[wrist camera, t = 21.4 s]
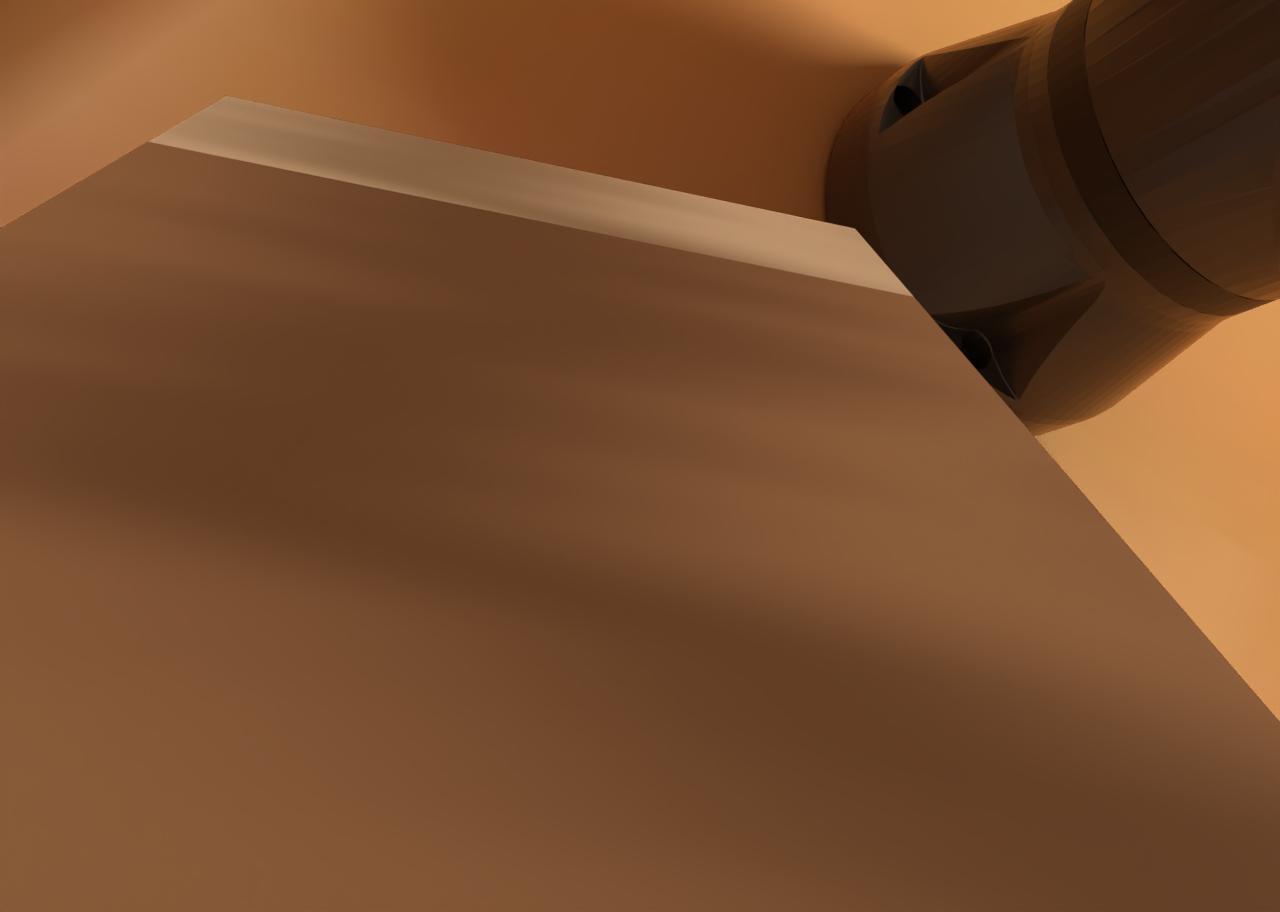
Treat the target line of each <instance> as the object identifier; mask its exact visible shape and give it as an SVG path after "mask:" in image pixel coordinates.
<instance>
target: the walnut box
mask: <svg viewBox="0 0 1280 912" xmlns="http://www.w3.org/2000/svg"><path fill="white" fill-rule="evenodd" d="M0 912H1280V722H1279V720H1278V719H1277V718H1276V717H1275V716H1274V715H1273V713H1272V712H1271V711H1270V710H1269V709H1268V708H1267V706H1266V705H1265V704H1264V703H1263V702H1262V701H1261V699H1260V698H1259V697H1258V696H1257V695H1256V694H1255V693H1254V691H1253V690H1252V689H1251V688H1250V687H1249V686H1248V684H1247V683H1246V682H1245V681H1244V680H1243V679H1242V677H1241V676H1240V675H1239V674H1238V673H1237V672H1236V670H1235V669H1234V668H1233V667H1232V666H1231V665H1230V663H1229V662H1228V661H1227V660H1226V659H1225V658H1224V657H1223V655H1222V654H1221V653H1220V652H1219V651H1218V650H1217V648H1216V647H1215V646H1214V645H1213V644H1212V643H1211V641H1210V640H1209V639H1208V638H1207V637H1206V636H1205V634H1204V633H1203V632H1202V631H1201V630H1200V629H1199V627H1198V626H1197V625H1196V624H1195V623H1194V622H1193V621H1192V619H1191V618H1190V617H1189V616H1188V615H1187V614H1186V612H1185V611H1184V610H1183V609H1182V608H1181V607H1180V605H1179V604H1178V603H1177V602H1176V601H1175V600H1174V598H1173V597H1172V596H1171V595H1170V594H1169V593H1168V591H1167V590H1166V589H1165V588H1164V587H1163V586H1162V585H1161V583H1160V582H1159V581H1158V580H1157V579H1156V578H1155V576H1154V575H1153V574H1152V573H1151V572H1150V571H1149V569H1148V568H1147V567H1146V566H1145V565H1144V564H1143V562H1142V561H1141V560H1140V559H1139V558H1138V557H1137V555H1136V554H1135V553H1134V552H1133V551H1132V550H1131V549H1130V547H1129V546H1128V545H1127V544H1126V543H1125V542H1124V540H1123V539H1122V538H1121V537H1120V536H1119V535H1118V533H1117V532H1116V531H1115V530H1114V529H1113V528H1112V526H1111V525H1110V524H1109V523H1108V522H1107V521H1106V519H1105V518H1104V517H1103V516H1102V515H1101V514H1100V513H1099V511H1098V510H1097V509H1096V508H1095V507H1094V506H1093V504H1092V503H1091V502H1090V501H1089V500H1088V499H1087V497H1086V496H1085V495H1084V494H1083V493H1082V492H1081V490H1080V489H1079V488H1078V487H1077V486H1076V485H1075V483H1074V482H1073V481H1072V480H1071V479H1070V478H1069V477H1068V475H1067V474H1066V473H1065V472H1064V471H1063V470H1062V468H1061V467H1060V466H1059V465H1058V464H1057V463H1056V461H1055V460H1054V459H1053V458H1052V457H1051V456H1050V454H1049V453H1048V452H1047V451H1046V450H1045V449H1044V447H1043V446H1042V445H1041V444H1040V443H1039V442H1038V441H1037V439H1036V438H1035V437H1034V436H1033V435H1032V434H1031V432H1030V431H1029V430H1028V429H1027V428H1026V427H1025V425H1024V424H1023V423H1022V422H1021V421H1020V420H1019V418H1018V417H1017V416H1016V415H1015V414H1014V413H1013V411H1012V410H1011V409H1010V408H1009V407H1008V406H1007V405H1006V403H1005V402H1004V401H1003V400H1002V399H1001V398H1000V396H999V395H998V394H997V393H996V392H995V391H994V389H993V388H992V387H991V386H990V385H989V384H988V382H987V381H986V380H985V379H984V378H983V377H982V375H981V374H980V373H979V372H978V371H977V370H976V369H975V367H974V366H973V365H972V364H971V363H970V362H969V360H968V359H967V358H966V357H965V356H964V355H963V353H962V352H961V351H960V350H959V349H958V348H957V346H956V345H955V344H954V343H953V342H952V341H951V339H950V338H949V337H948V336H947V335H946V334H945V333H944V331H943V330H942V329H941V328H940V327H939V326H938V324H937V323H936V322H935V321H934V320H933V319H932V317H931V316H930V315H929V314H928V313H927V312H926V310H925V309H924V308H923V307H922V306H921V305H920V303H919V302H918V301H917V300H916V299H915V298H914V297H913V295H912V294H911V293H910V292H909V291H908V290H907V288H906V287H905V286H904V285H903V284H902V283H901V281H900V280H899V279H898V278H897V277H896V276H895V274H894V273H893V272H892V271H891V270H890V269H889V267H888V266H887V265H886V264H885V263H884V262H883V261H882V259H881V258H880V257H879V256H878V255H877V254H876V252H875V251H874V250H873V249H872V248H871V247H870V245H869V244H868V243H867V242H866V241H865V240H864V238H863V237H862V236H861V235H860V234H859V233H858V231H857V230H856V229H855V228H850V227H845V226H840V225H836V224H831V223H826V222H821V221H817V220H812V219H807V218H803V217H798V216H793V215H788V214H784V213H779V212H774V211H769V210H765V209H760V208H755V207H750V206H746V205H741V204H736V203H732V202H727V201H722V200H717V199H713V198H708V197H703V196H698V195H694V194H689V193H684V192H680V191H675V190H670V189H665V188H661V187H656V186H651V185H646V184H642V183H637V182H632V181H627V180H623V179H618V178H613V177H609V176H604V175H599V174H594V173H590V172H585V171H580V170H575V169H571V168H566V167H561V166H557V165H552V164H547V163H542V162H538V161H533V160H528V159H523V158H519V157H514V156H509V155H504V154H500V153H495V152H490V151H486V150H481V149H476V148H471V147H467V146H462V145H457V144H452V143H448V142H443V141H438V140H433V139H429V138H424V137H419V136H415V135H410V134H405V133H400V132H396V131H391V130H386V129H381V128H377V127H372V126H367V125H363V124H358V123H353V122H348V121H344V120H339V119H334V118H329V117H325V116H320V115H315V114H310V113H306V112H301V111H296V110H292V109H287V108H282V107H277V106H273V105H268V104H263V103H258V102H254V101H249V100H244V99H239V98H235V97H230V96H225V97H223V98H221V99H219V100H218V101H216V102H214V103H213V104H211V105H209V106H208V107H206V108H204V109H202V110H201V111H199V112H197V113H196V114H194V115H192V116H191V117H189V118H187V119H186V120H184V121H182V122H180V123H179V124H177V125H175V126H174V127H172V128H170V129H169V130H167V131H165V132H163V133H162V134H160V135H158V136H157V137H155V138H153V139H152V140H150V141H148V142H147V143H145V144H143V145H141V146H140V147H138V148H136V149H135V150H133V151H131V152H130V153H128V154H126V155H124V156H123V157H121V158H119V159H118V160H116V161H114V162H113V163H111V164H109V165H108V166H106V167H104V168H102V169H101V170H99V171H97V172H96V173H94V174H92V175H91V176H89V177H87V178H85V179H84V180H82V181H80V182H79V183H77V184H75V185H74V186H72V187H70V188H69V189H67V190H65V191H63V192H62V193H60V194H58V195H57V196H55V197H53V198H52V199H50V200H48V201H46V202H45V203H43V204H41V205H40V206H38V207H36V208H35V209H33V210H31V211H30V212H28V213H26V214H24V215H23V216H21V217H19V218H18V219H16V220H14V221H13V222H11V223H9V224H7V225H6V226H4V227H2V228H1V229H0Z"/></svg>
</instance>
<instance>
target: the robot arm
mask: <svg viewBox="0 0 1280 912" xmlns="http://www.w3.org/2000/svg"><path fill="white" fill-rule="evenodd" d="M826 201H827V217H828V223H831V224H836V225H840V226H845V227H850V228H855V229H856V230H857V231H858V233H859V234H860V235H861V236H862V237H863V238H864V240H865V241H866V242H867V243H868V244H869V245H870V247H871V248H872V249H873V250H874V251H875V252H876V254H877V255H878V256H879V257H880V258H881V259H882V261H883V262H884V263H885V264H886V265H887V266H888V267H889V269H890V270H891V271H892V272H893V273H894V274H895V276H896V277H897V278H898V279H899V280H900V281H901V283H902V284H903V285H904V286H905V287H906V288H907V290H908V291H909V292H910V293H911V294H912V295H913V297H914V298H915V299H916V300H917V301H918V302H919V303H920V305H921V306H922V307H923V308H924V309H925V310H926V312H927V313H928V314H929V315H930V316H931V317H932V319H933V320H934V321H935V322H936V323H937V324H938V326H939V327H940V328H941V329H942V330H943V331H944V333H945V334H946V335H947V336H948V337H949V338H950V339H951V341H952V342H953V343H954V344H955V345H956V346H957V348H958V349H959V350H960V351H961V352H962V353H963V355H964V356H965V357H966V358H967V359H968V360H969V362H970V363H971V364H972V365H973V366H974V367H975V369H976V370H977V371H978V372H979V373H980V374H981V375H982V377H983V378H984V379H985V380H986V381H987V382H988V384H989V385H990V386H991V387H992V388H993V389H994V391H995V392H996V393H997V394H998V395H999V396H1000V398H1001V399H1002V400H1003V401H1004V402H1005V403H1006V405H1007V406H1008V407H1009V408H1010V409H1011V410H1012V411H1013V413H1014V414H1015V415H1016V416H1017V417H1018V418H1019V420H1020V421H1021V422H1022V423H1023V424H1024V425H1025V427H1026V428H1027V429H1028V430H1029V431H1030V432H1031V434H1032V435H1033V436H1036V435H1041V434H1044V433H1047V432H1050V431H1053V430H1057V429H1060V428H1063V427H1066V426H1069V425H1072V424H1075V423H1078V422H1081V421H1084V420H1088V419H1090V418H1092V417H1094V416H1096V415H1098V414H1100V413H1102V412H1104V411H1106V410H1108V409H1109V408H1111V407H1113V406H1114V405H1115V404H1117V403H1118V402H1119V401H1120V400H1122V399H1123V398H1124V397H1126V396H1127V395H1128V394H1129V393H1131V392H1132V391H1133V390H1135V389H1136V388H1137V387H1138V386H1140V385H1141V384H1142V383H1143V382H1145V381H1146V380H1147V379H1149V378H1150V377H1151V376H1152V375H1154V374H1155V373H1156V372H1157V371H1159V370H1160V369H1161V368H1163V367H1164V366H1165V365H1166V364H1168V363H1169V362H1170V361H1171V360H1173V359H1174V358H1175V357H1177V356H1178V355H1179V354H1180V353H1182V352H1183V351H1184V350H1185V349H1187V348H1188V347H1189V346H1191V345H1192V344H1193V343H1194V342H1196V341H1197V340H1198V339H1199V338H1201V337H1202V336H1203V335H1205V334H1206V333H1207V332H1208V331H1210V330H1211V329H1212V328H1214V327H1215V326H1216V325H1217V324H1219V323H1220V322H1221V321H1223V320H1225V319H1227V318H1230V317H1232V316H1235V315H1237V314H1240V313H1242V312H1245V311H1248V310H1250V309H1253V308H1256V307H1259V306H1261V305H1264V304H1267V303H1269V302H1272V301H1275V300H1277V299H1280V0H1073V1H1071V2H1070V3H1068V4H1067V5H1065V6H1064V7H1063V8H1061V9H1059V10H1057V11H1054V12H1051V13H1048V14H1045V15H1042V16H1039V17H1036V18H1033V19H1030V20H1027V21H1024V22H1021V23H1018V24H1015V25H1012V26H1009V27H1006V28H1003V29H1000V30H996V31H993V32H990V33H987V34H984V35H981V36H978V37H975V38H972V39H969V40H966V41H963V42H960V43H957V44H954V45H951V46H948V47H945V48H942V49H939V50H936V51H933V52H930V53H927V54H925V55H923V56H921V57H919V58H917V59H915V60H913V61H911V62H910V63H908V64H906V65H905V66H903V67H902V68H900V69H899V70H898V71H897V72H895V73H894V74H893V75H892V76H890V77H889V78H888V79H887V80H885V81H884V82H883V83H882V84H880V85H879V86H878V87H877V88H875V89H874V90H873V91H872V92H870V93H869V94H868V95H867V96H866V97H864V98H863V99H862V100H861V101H860V102H859V103H858V104H857V105H856V106H855V107H854V109H853V110H852V111H851V113H850V114H849V115H848V117H847V118H846V120H845V122H844V123H843V125H842V127H841V129H840V131H839V133H838V135H837V138H836V141H835V144H834V146H833V150H832V154H831V158H830V163H829V168H828V176H827V192H826Z"/></svg>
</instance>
